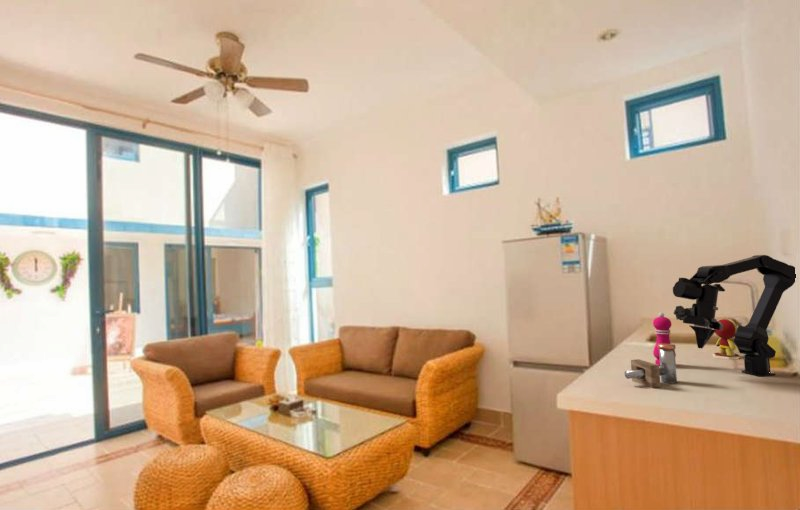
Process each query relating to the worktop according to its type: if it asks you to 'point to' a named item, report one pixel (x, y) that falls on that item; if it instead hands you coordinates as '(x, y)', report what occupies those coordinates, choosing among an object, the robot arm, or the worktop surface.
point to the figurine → (726, 340)
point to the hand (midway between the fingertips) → (700, 348)
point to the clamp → (661, 365)
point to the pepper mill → (661, 334)
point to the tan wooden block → (647, 373)
